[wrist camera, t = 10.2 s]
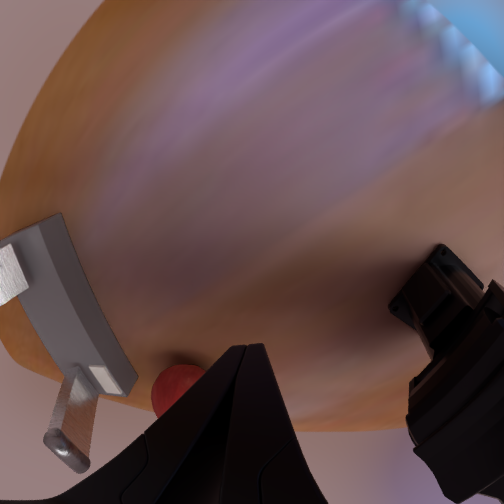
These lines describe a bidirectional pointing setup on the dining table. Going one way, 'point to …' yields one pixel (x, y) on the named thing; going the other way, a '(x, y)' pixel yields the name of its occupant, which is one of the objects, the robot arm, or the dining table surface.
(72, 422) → the grey lever
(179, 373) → the onion
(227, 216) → the dining table surface
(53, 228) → the switch box
